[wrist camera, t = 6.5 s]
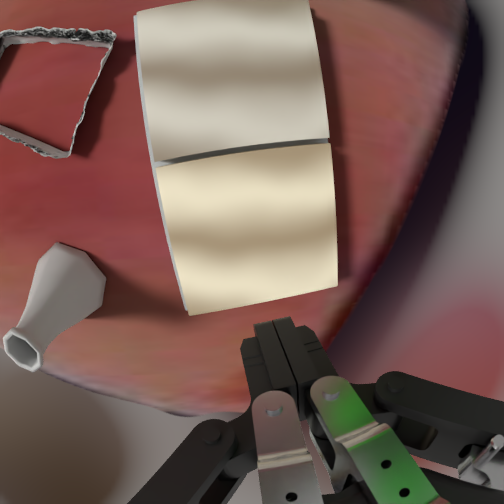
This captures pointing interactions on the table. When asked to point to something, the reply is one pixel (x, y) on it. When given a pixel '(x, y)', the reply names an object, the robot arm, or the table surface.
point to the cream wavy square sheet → (251, 225)
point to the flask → (54, 303)
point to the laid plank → (230, 75)
